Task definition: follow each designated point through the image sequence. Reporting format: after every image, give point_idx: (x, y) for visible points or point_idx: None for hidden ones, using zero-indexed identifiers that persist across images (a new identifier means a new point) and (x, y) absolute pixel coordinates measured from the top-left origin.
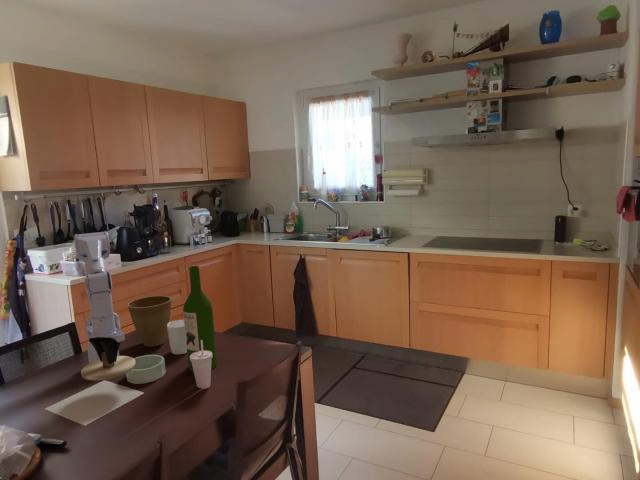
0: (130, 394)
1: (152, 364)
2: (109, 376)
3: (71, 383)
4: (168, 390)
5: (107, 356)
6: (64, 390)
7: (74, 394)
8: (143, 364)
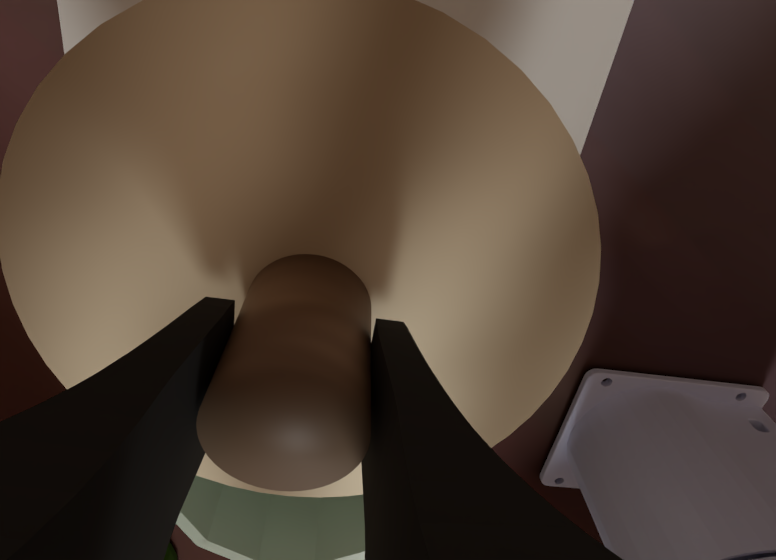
0: None
1: (337, 503)
2: (33, 102)
3: (759, 221)
4: (7, 329)
5: (151, 349)
6: (750, 123)
7: (606, 75)
8: None
